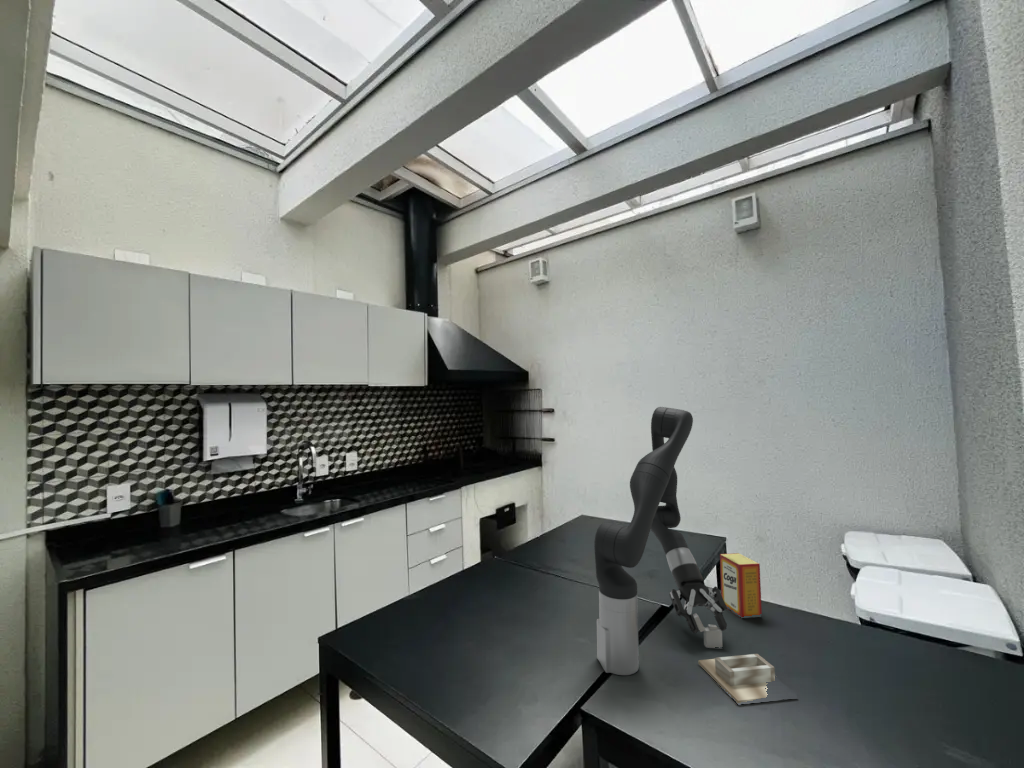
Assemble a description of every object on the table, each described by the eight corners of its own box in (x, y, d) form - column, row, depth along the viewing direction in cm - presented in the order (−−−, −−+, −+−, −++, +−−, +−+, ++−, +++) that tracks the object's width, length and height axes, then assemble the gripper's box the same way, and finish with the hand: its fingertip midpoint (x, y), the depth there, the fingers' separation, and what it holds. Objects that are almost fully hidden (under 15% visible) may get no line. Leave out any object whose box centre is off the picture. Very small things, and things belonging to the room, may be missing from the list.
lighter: (720, 644, 107) (718, 613, 108) (722, 648, 106) (721, 616, 106) (692, 643, 108) (691, 612, 109) (694, 647, 106) (693, 615, 107)
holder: (738, 705, 85) (737, 685, 85) (698, 664, 99) (697, 647, 99) (797, 699, 87) (796, 679, 87) (750, 659, 101) (749, 642, 101)
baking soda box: (721, 604, 130) (719, 552, 131) (740, 602, 131) (738, 551, 132) (741, 619, 121) (739, 563, 122) (761, 617, 121) (759, 562, 122)
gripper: (665, 563, 114) (690, 628, 102) (712, 560, 116) (742, 623, 104) (656, 575, 119) (679, 638, 107) (701, 572, 121) (729, 633, 109)
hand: (710, 630), depth 106 cm, fingers closed on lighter, 7 cm apart
